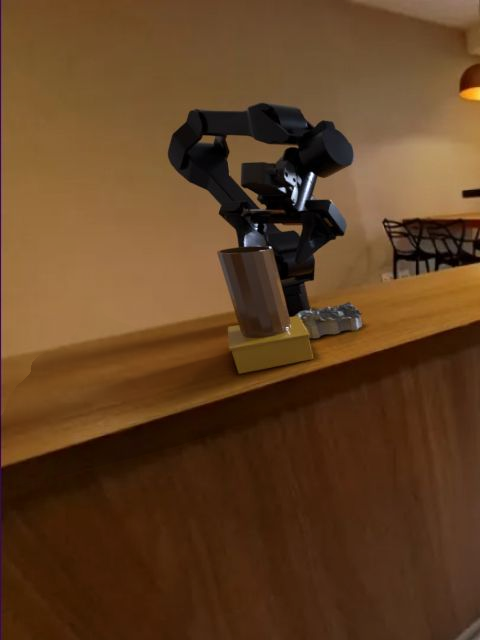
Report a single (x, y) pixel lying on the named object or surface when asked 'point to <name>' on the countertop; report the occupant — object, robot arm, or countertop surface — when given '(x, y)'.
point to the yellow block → (270, 348)
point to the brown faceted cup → (255, 290)
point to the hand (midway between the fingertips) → (270, 263)
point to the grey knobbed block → (331, 320)
